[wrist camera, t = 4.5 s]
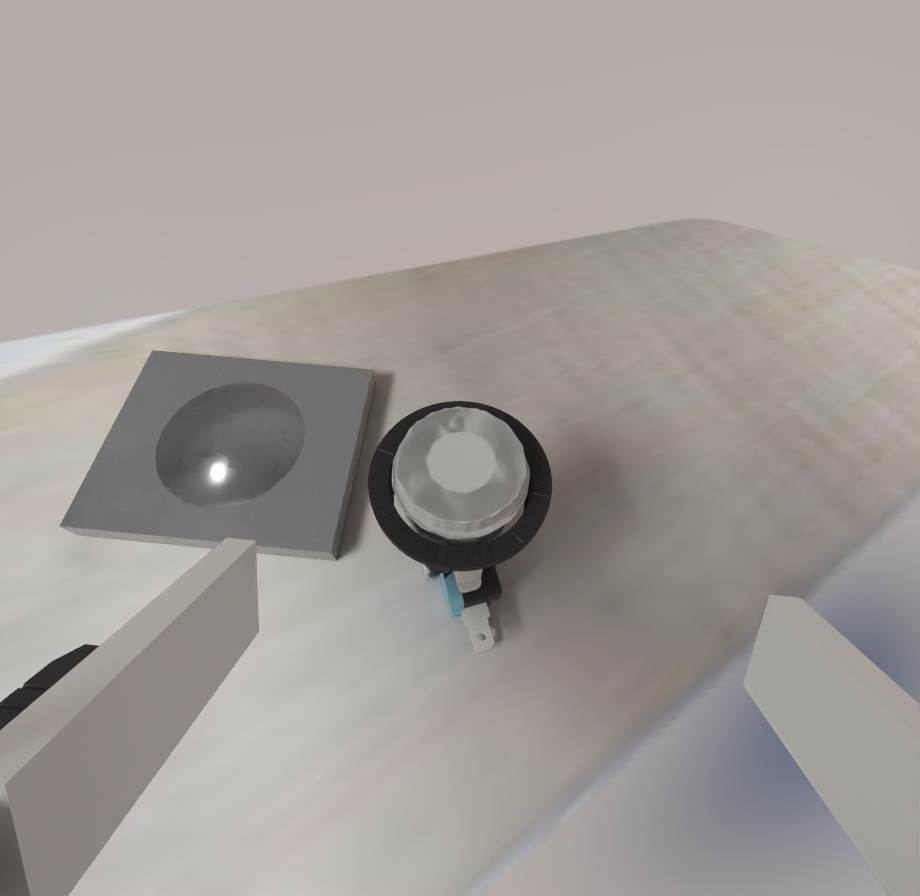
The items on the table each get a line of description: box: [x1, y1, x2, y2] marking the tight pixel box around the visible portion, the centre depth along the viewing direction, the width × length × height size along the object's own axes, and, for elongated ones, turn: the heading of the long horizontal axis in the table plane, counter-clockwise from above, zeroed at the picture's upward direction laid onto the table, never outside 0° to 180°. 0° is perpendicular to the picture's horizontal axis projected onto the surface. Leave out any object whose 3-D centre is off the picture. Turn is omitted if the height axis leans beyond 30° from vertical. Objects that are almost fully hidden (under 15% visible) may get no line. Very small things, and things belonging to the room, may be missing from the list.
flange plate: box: [60, 350, 375, 561], centre depth 24 cm, size 12×10×1 cm
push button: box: [368, 401, 552, 653], centre depth 17 cm, size 7×5×10 cm
